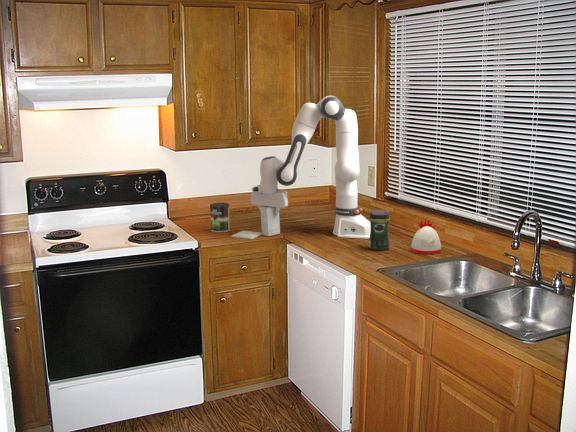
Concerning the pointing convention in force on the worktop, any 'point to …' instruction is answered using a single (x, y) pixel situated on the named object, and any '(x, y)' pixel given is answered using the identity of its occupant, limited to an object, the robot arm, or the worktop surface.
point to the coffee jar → (379, 230)
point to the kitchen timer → (426, 240)
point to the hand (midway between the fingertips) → (269, 214)
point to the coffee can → (219, 217)
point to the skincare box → (269, 221)
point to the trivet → (247, 234)
